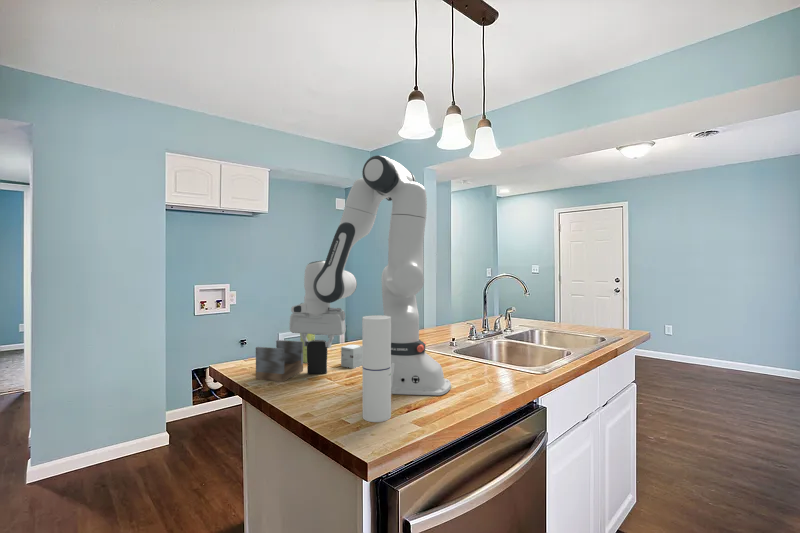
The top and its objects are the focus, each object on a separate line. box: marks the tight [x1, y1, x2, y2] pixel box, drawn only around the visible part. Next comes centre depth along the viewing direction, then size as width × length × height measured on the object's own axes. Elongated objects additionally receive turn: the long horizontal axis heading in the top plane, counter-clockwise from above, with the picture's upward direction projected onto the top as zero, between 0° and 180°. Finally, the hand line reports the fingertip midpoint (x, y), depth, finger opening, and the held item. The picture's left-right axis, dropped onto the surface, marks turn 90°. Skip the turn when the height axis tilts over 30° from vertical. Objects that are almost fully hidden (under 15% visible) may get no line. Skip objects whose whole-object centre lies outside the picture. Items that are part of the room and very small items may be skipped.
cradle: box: [255, 339, 304, 383], centre depth 136 cm, size 10×13×10 cm
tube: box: [299, 333, 316, 364], centre depth 154 cm, size 6×5×20 cm
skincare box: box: [340, 344, 363, 369], centre depth 148 cm, size 6×6×7 cm
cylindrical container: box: [361, 314, 392, 423], centre depth 100 cm, size 7×7×25 cm
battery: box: [306, 339, 328, 375], centre depth 139 cm, size 7×4×11 cm, turn 95°
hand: (317, 346), depth 139 cm, fingers closed on battery, 7 cm apart
